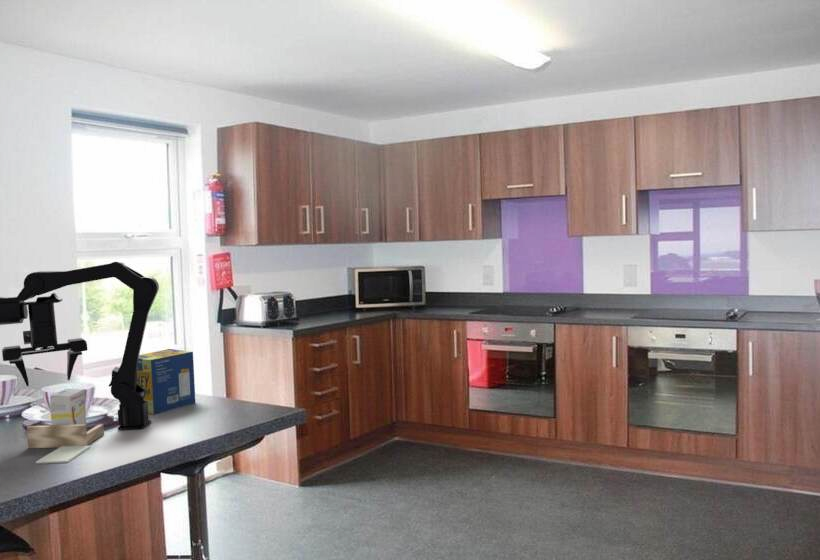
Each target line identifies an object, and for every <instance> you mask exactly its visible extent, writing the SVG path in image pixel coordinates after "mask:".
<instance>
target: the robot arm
mask: <svg viewBox="0 0 820 560" xmlns="http://www.w3.org/2000/svg"><path fill="white" fill-rule="evenodd" d="M110 278H115V279H117V280H118V281H120V282H121V283H123V284H124V285H125V286H127V287H128V288H130V289H131V290H132V292H133V293H132V294H133V296H132V304H133V306H132V308H133V309H132V314H131V316H132V317H131V321H130V324H129V328H128V333H127V339H126V342H125V347H124V351H123V356H122V360H121V364H120V366H119V367H117V366H114V367H113V369H112V370H111V380H110V383H109V384H108V387H109V388H110V393H111V395H112V397H113V398H115V399H116V400H117V401H119V404H118V405H119V406H118V408H119V409H117V420H118V423H117V424H118V427H117V430H141V429H144V428H146V426H148V425H150V424H151V423H152V420H149V413H148V401H143V399H144V398H145V394H146V390H144V389H143V388H142V387H140V386H139V385H138V384H137V376H138V371H137V362H138V358H139V355H141V354H140V353H141V349H142V346H143V345H142V344H143V339H144V334H145V330H146V327H147V322H148V317H149V314H150V310H151V308H152V306H153V304H154V301H155V299H156V297H157V295H158V293H159V289H160V284H159V282H158V281H157V279H156V278H154V277H153V276H149V275H148V276H147V275H143V274H141V273H140V272H138V271H136V270H134V269H133V268H131V267H129V266H127V265H125V263H124V262H122V261H118V260H117V261H113V262H109V263H105V264H99V265H94V266H88V267H84V268H77V269H76V268H75V269H72V270H71V269H70V270H63V271H62V270H61V271H60V270H45V271H44V270H40V271H35V272H31V273H28V274H27V275H26V277H25V278H24V281H23V288H22V289H21V290H20V292H19V293H18V295H17V296H11V297H5V296H4V297H3V296H0V326H2V325H3V326H4V325H18V324H22V323H24V320H26V319H28V318H29V319H28V320H29V321H28V322H29V329H30V330H23V331H22V338H23V344H24V345H30V347H22V348H21V346H20V345H12V346H3V348H2V349H1V356H2V361H3V362H9V365H12V364H14V366H16V368H17V370H18V371H19V373H20V375H21V376H22V378H23V380H24V383H25V386H26V387H29V377H28V373H27V370H26V366H25V362H24V359H23V356H30V355H38V354H46V353H54V352H55V353H56V352H60V351H61V352H62V351H66V355H67V357H66V358H67V359H66V363H67V364H66V367H67V368H66V376H67V377H66V379H67V381H70V380H71V377H72V374H73V369H74V366H75V363H76V361H77V359H78V356H81V355H83V352H86V351H88V343H87V340H86V339H84V338H82V337H79V338H70V339H67V342H64V343H58V334H57V325H56V314H55V305H54V304H55V303H56V304H57V303H61V302H62V301H63V298H62V297H59V296H58V295H57V294H56V292H53V291H55V290H58V289H61V288H64V287H67V286H71V285H78V284H83V283H84V284H85V283H88V282H89V283H90V282H94V281H99V280H105V279H110ZM50 292H53V293H51V294H50V296H49V295H48V296H41V295H44V294H47V293H50ZM36 296H38V297H36ZM35 297H36V300H35V301H28V300H30V299H34V298H35Z"/></svg>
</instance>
